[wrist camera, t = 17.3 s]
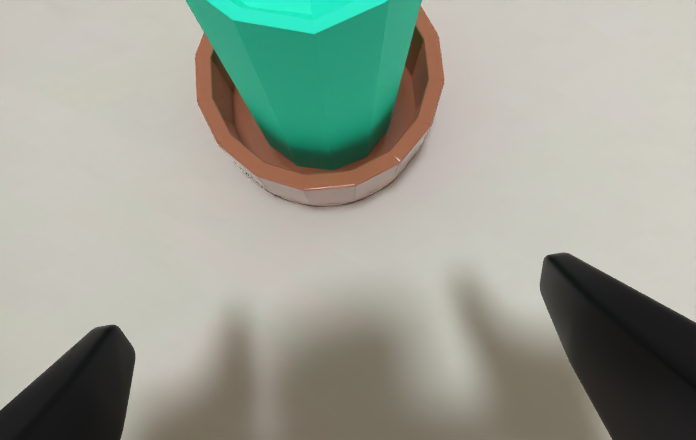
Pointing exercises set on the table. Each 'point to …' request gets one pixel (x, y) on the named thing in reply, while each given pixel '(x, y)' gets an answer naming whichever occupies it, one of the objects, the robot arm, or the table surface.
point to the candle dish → (319, 184)
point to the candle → (314, 69)
